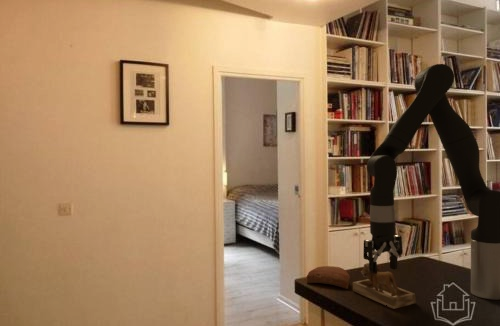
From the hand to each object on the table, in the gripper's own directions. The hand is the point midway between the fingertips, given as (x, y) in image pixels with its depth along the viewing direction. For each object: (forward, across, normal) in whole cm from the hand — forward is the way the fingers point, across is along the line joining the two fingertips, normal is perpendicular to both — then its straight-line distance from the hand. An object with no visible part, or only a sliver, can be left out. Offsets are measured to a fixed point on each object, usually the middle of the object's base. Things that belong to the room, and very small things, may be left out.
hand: (383, 270), depth 121 cm
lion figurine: (+7, -1, -1) cm, 7 cm away
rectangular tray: (+8, 0, 0) cm, 8 cm away
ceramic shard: (+8, -4, +21) cm, 23 cm away
